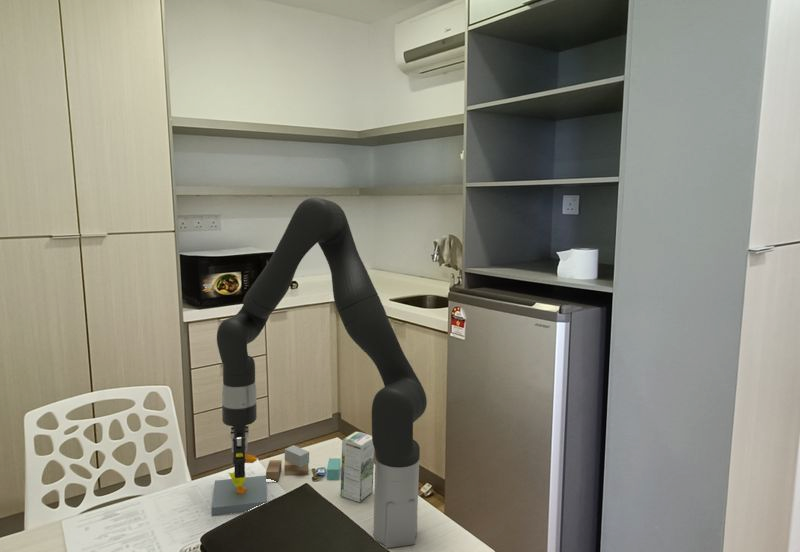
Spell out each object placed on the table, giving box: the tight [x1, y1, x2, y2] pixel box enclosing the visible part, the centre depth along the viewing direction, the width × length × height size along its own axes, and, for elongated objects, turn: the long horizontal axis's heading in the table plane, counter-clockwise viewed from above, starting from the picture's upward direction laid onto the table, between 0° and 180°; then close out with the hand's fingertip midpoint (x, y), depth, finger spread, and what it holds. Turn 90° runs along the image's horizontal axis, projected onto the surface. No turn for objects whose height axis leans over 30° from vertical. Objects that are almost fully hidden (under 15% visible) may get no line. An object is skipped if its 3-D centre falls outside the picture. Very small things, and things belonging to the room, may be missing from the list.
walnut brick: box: [265, 459, 282, 483], centre depth 137 cm, size 6×3×3 cm, turn 5°
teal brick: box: [326, 457, 342, 481], centre depth 139 cm, size 6×3×3 cm, turn 2°
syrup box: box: [339, 431, 375, 503], centre depth 128 cm, size 6×6×14 cm
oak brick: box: [283, 459, 309, 476], centre depth 139 cm, size 6×3×3 cm, turn 98°
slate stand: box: [211, 474, 268, 517], centre depth 126 cm, size 12×12×2 cm
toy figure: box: [228, 453, 258, 494], centre depth 125 cm, size 7×4×12 cm, turn 85°
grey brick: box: [284, 444, 310, 467], centre depth 139 cm, size 6×3×3 cm, turn 52°
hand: (240, 468), depth 125 cm, fingers open, 8 cm apart
